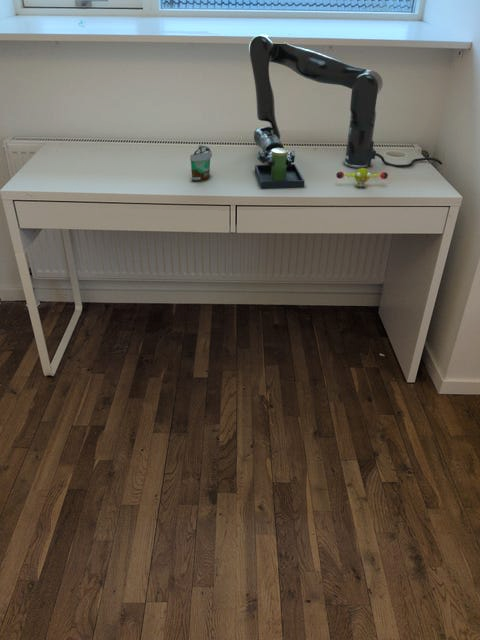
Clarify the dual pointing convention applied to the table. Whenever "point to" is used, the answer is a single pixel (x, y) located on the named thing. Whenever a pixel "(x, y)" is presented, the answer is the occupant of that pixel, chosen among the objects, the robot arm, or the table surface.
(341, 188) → the table surface
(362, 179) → the toy figure
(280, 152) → the green cup
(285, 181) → the dark grey shallow tray
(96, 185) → the table surface
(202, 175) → the food container
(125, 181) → the table surface
